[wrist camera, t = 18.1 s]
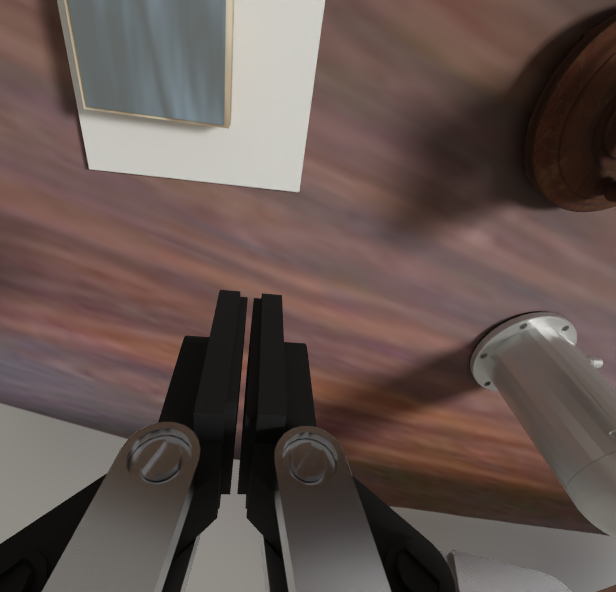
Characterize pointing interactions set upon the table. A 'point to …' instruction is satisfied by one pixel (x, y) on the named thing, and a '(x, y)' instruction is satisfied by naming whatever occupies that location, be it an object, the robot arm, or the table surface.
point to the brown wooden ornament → (577, 127)
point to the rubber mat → (244, 116)
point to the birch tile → (155, 58)
